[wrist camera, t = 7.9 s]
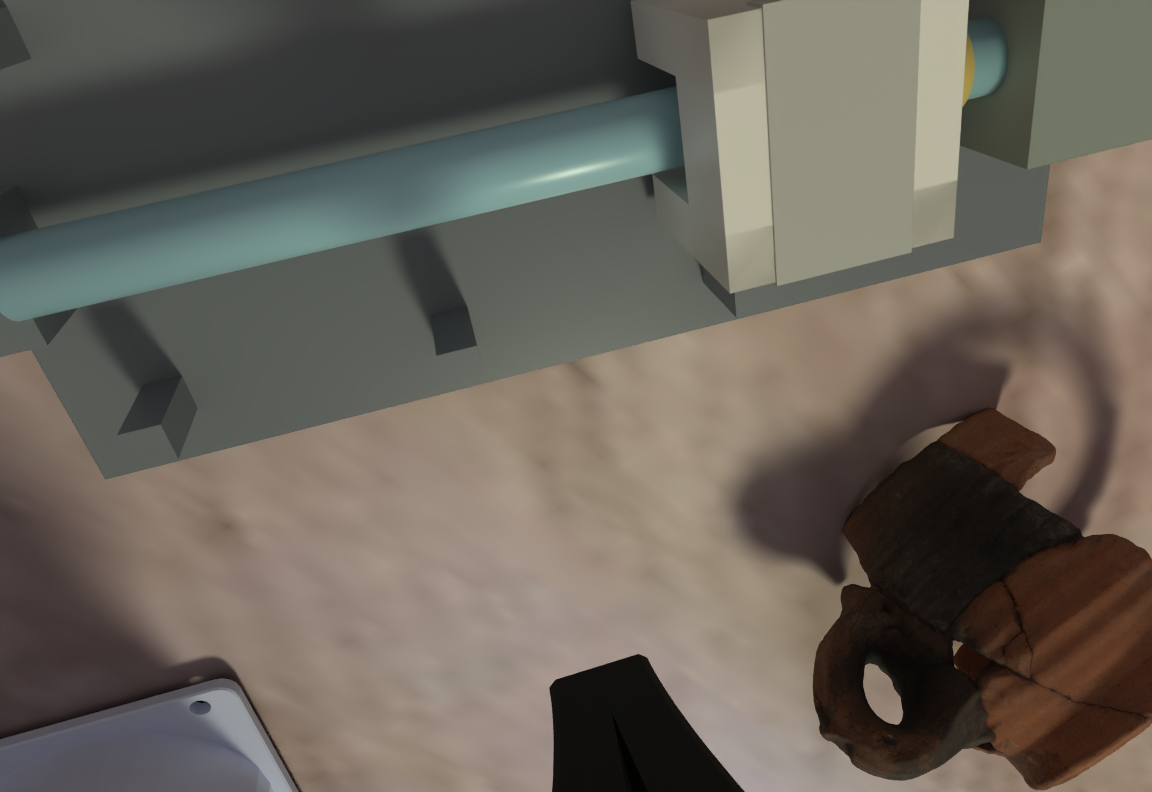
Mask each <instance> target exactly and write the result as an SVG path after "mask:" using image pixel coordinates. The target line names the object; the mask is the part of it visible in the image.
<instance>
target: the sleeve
mask: <svg viewBox="0 0 1152 792" xmlns="http://www.w3.org/2000/svg"><path fill="white" fill-rule="evenodd" d="M968 8H969V0H631V9H632V17H633V25H634V33H635V41H636V49H637V57H638V59H640V60H642V61H644V62H646V63H648V64H650V65H653V66H655V67H657V68H659V69H661V70H663V71H665V72H668V73H670V74H672V75H674V76H676V86H677V95H678V105H679V114H680V124H681V134H682V143H683V153H684V163H685V166H683V167H678V168H674V169H670V170H666V171H661V172H657V173H653V174H652V178H653V186H654V194H655V202H656V210H657V218H658V222H659V223H660V224H661V225H662V226H663V227H664V228H665V229H666V230H667V231H668V232H669V233H670V234H671V235H672V236H673V237H674V238H675V239H676V240H677V241H678V242H679V243H680V244H681V245H682V246H683V247H684V248H685V249H686V250H687V251H688V252H689V253H690V254H691V255H692V256H693V257H694V258H695V259H696V260H697V261H698V262H699V263H700V264H701V265H702V266H703V267H704V268H705V269H706V270H707V271H708V272H709V273H710V274H711V275H712V276H713V277H714V278H715V279H716V280H717V281H718V282H719V283H720V284H721V285H722V286H723V287H724V288H725V289H726V290H727V291H728V292H729V293H730V294H731V293H735V292H739V291H743V290H747V289H751V288H755V287H759V286H763V285H767V284H771V283H774V284H775V285H777V286H780V285H784V284H788V283H792V282H796V281H800V280H804V279H808V278H812V277H816V276H820V275H824V274H828V273H831V272H835V271H839V270H843V269H847V268H851V267H855V266H859V265H863V264H867V263H871V262H875V261H879V260H883V259H887V258H891V257H895V256H899V255H903V254H907V253H911V251H912V248H915V247H919V246H923V245H927V244H931V243H935V242H939V241H943V240H947V239H951V238H954V225H955V209H956V194H957V178H958V163H959V147H960V132H961V116H962V101H963V86H964V70H965V55H966V39H967V24H968Z"/></svg>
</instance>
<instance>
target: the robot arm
mask: <svg viewBox="0 0 1152 792" xmlns="http://www.w3.org/2000/svg"><path fill="white" fill-rule="evenodd" d="M549 689H550V696H551V702H552V713H553V730H554V762H553V787H552V792H744V790H743V789H742V788H741V787H740V786H739V785H738V784H737V782H736V781H735V780H734V779H733V778H732V776H731V775H730V774H729V773H728V772H727V770H726V769H725V768H724V767H723V766H722V764H721V763H720V762H719V761H718V760H717V758H716V757H715V756H714V755H713V754H712V752H711V751H710V750H709V749H708V747H707V746H706V745H705V744H704V742H703V741H702V740H701V739H700V737H699V736H698V735H697V733H696V732H695V731H694V729H693V728H692V727H691V725H690V724H689V723H688V721H687V720H686V719H685V717H684V716H683V714H682V713H681V712H680V710H679V709H678V708H677V706H676V705H675V703H674V702H673V700H672V699H671V697H670V696H669V694H668V693H667V691H666V690H665V688H664V687H663V685H662V683H661V682H660V680H659V678H658V677H657V675H656V673H655V672H654V670H653V668H652V666H651V664H650V662H649V660H648V658H647V657H644V656H642V655H640V654H637V655H634V656H631V657H627V658H624V659H621V660H618V661H615V662H611V663H608V664H605V665H602V666H598V667H595V668H592V669H589V670H586V671H582V672H579V673H576V674H573V675H569V676H566V677H563V678H560V679H557V680H555V681H554V682H553V684H552V685H551V686H550V688H549ZM196 701H206V702H207V703H199V702H196ZM0 792H298V790H297V788H296V786H295V784H294V783H293V781H292V779H291V777H290V775H289V774H288V772H287V770H286V768H285V766H284V765H283V763H282V761H281V759H280V757H279V756H278V754H277V752H276V750H275V748H274V747H273V745H272V743H271V741H270V739H269V738H268V736H267V734H266V732H265V730H264V729H263V727H262V725H261V723H260V721H259V720H258V718H257V716H256V714H255V712H254V711H253V709H252V707H251V705H250V703H249V702H248V700H247V698H246V696H245V694H244V693H243V691H242V689H241V687H240V686H239V685H238V684H237V683H236V682H234V681H232V680H230V679H223V678H221V679H214V680H211V681H207V682H203V683H200V684H196V685H193V686H189V687H186V688H182V689H178V690H175V691H171V692H168V693H164V694H160V695H157V696H153V697H150V698H146V699H143V700H139V701H135V702H132V703H128V704H125V705H121V706H118V707H114V708H110V709H107V710H103V711H100V712H96V713H93V714H89V715H85V716H82V717H78V718H75V719H71V720H67V721H64V722H60V723H57V724H53V725H50V726H46V727H42V728H39V729H35V730H32V731H28V732H25V733H21V734H17V735H14V736H10V737H7V738H3V739H0Z"/></svg>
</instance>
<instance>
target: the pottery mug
mask: <svg viewBox="0 0 1152 792" xmlns="http://www.w3.org/2000/svg"><path fill="white" fill-rule="evenodd" d="M1055 455H1056V449H1055V447H1054V446H1053V445H1052V444H1051V443H1050V442H1049V441H1048V440H1047V439H1045V438H1044V437H1042V436H1041V435H1039V434H1038V433H1035V432H1033V431H1030V430H1029V429H1027V428H1025V427H1023V426H1022V425H1020V424H1019V423H1017V422H1015V421H1014V420H1011V419H1009V418H1007V417H1006V416H1004V415H1003V414H1001V413H1000V412H998V411H997V410H995V409H986V410H984V411H982V412H980V413H976V414H974V415H972V416H970V417H969V418H968V419H966V420H965V421H963V422H961V423H958V424H956V425H955V426H954V427H953V428H952V429H951V430H950V431H949V432H947V433H946V434H944V435H942V436H941V437H940V438H939V439H938V440H937V441H935V442H933V443H931V444H929V445H928V446H927V447H926V448H924V449H923V450H922V451H921V452H920V453H918V454H917V455H916V456H915V457H914V458H912V459H911V460H909V461H906V462H903V463H902V464H900V465H899V466H898V468H897V469H896V470H895V471H894V473H892V474H891V475H890V476H889V477H887V478H886V479H884V480H883V481H882V482H881V483H879V484H878V486H877V487H876V489H874V490H873V491H872V492H871V493H870V494H869V495H868V496H867V497H866V498H865V499H864V501H863V502H862V504H861V505H860V506H859V507H858V508H857V509H856V510H855V511H854V513H853V514H852V515H851V517H850V518H849V520H848V521H847V522H846V524H845V525H844V527H843V532H844V535H845V536H846V538H847V540H848V541H849V542H850V544H851V546H852V547H853V549H854V550H855V551H856V553H857V555H858V557H859V561H860V564H861V566H862V568H863V569H864V571H865V572H866V573H867V576H868V579H869V582H870V584H871V587H870V588H868V587H862V586H859V585H856V584H850V585H847V586H844V587H843V589H842V592H841V604H842V612H841V615H840V617H839V618H838V620H837V621H836V622H835V623H834V625H833V626H832V627H831V628H830V630H829V631H828V632H827V634H826V635H825V636H824V638H823V640H822V641H821V642H820V644H819V646H818V649H817V652H816V658H815V663H814V674H813V696H814V704H815V709H816V712H817V714H818V717H819V721H820V726H819V730H820V734H821V735H822V737H823V738H825V739H826V740H828V741H831V742H833V743H835V744H836V745H837V746H838V747H839V748H840V749H841V750H842V751H843V752H844V753H845V754H847V755H848V756H849V757H850V759H851V762H852V764H853V765H854V766H856V767H857V768H859V769H860V770H862V771H864V772H867V773H869V774H871V775H873V776H877V777H882V778H885V779H890V780H900V781H901V780H908V779H913V778H916V777H919V776H921V775H923V774H925V773H927V772H929V771H931V770H933V769H935V768H938V767H939V766H941V765H943V764H944V763H946V762H947V761H948V760H949V759H951V758H952V757H953V756H954V755H956V754H957V753H958V752H959V751H961V750H962V749H968V748H973V749H976V750H980V751H983V752H985V753H988V754H996V755H999V756H1003V757H1005V758H1007V759H1008V760H1009V762H1010V763H1011V764H1012V765H1013V766H1014V767H1015V768H1016V769H1017V770H1018V771H1019V772H1020V773H1021V775H1022V776H1023V777H1024V780H1025V782H1026V783H1027V784H1028V785H1029V786H1030V787H1031V788H1033V789H1035V790H1047V789H1049V788H1051V787H1053V786H1057V785H1060V784H1062V783H1065V782H1067V781H1069V780H1071V779H1073V778H1075V777H1077V776H1078V775H1079V774H1081V773H1082V772H1084V771H1085V770H1087V769H1089V768H1090V767H1092V766H1094V765H1095V764H1097V763H1098V762H1100V761H1101V760H1103V759H1104V758H1105V757H1107V756H1108V755H1110V754H1112V753H1113V752H1115V751H1116V750H1118V749H1119V748H1120V747H1122V746H1123V745H1125V744H1126V743H1127V742H1128V741H1130V740H1131V739H1133V738H1134V737H1136V736H1137V735H1139V734H1140V733H1141V732H1143V731H1144V730H1145V729H1146V728H1148V727H1149V726H1150V725H1151V723H1152V559H1151V557H1150V556H1149V554H1148V553H1147V551H1146V550H1145V549H1143V548H1141V547H1138V546H1136V545H1135V544H1134V543H1132V542H1131V541H1129V540H1127V539H1126V538H1123V537H1119V536H1117V535H1114V534H1103V535H1091V536H1088V537H1083V536H1082V533H1081V531H1080V529H1078V528H1077V527H1075V526H1074V525H1072V524H1071V523H1069V522H1068V521H1066V520H1064V519H1063V518H1061V517H1059V516H1058V515H1056V514H1054V513H1052V512H1050V511H1048V510H1047V509H1046V508H1044V507H1043V506H1041V505H1040V504H1039V503H1037V502H1035V501H1033V500H1031V499H1029V498H1026V497H1025V496H1023V495H1022V494H1021V493H1020V492H1019V491H1020V490H1021V489H1022V488H1023V486H1024V485H1025V483H1026V481H1027V480H1029V479H1031V478H1032V477H1033V476H1034V475H1035V474H1036V473H1038V472H1039V471H1040V470H1041V469H1042V468H1044V467H1045V466H1047V465H1049V464H1051V463H1052V462H1053V461H1054V459H1055ZM954 639H955V640H957V641H958V642H962V643H964V644H963V645H962V646H961V647H960V648H959V649H958V651H957V652H956V654H955V656H954V655H953V648H952V646H953V642H952V640H954ZM868 663H871V664H875V665H878V667H879V668H880V670H881V671H883V672H884V673H885V674H887V675H888V676H889V677H890V678H891V680H892V682H893V686H894V689H895V690H896V692H897V693H898V694H899V695H900V697H901V703H902V709H903V718H902V721H901V722H900V724H899V725H894V724H890V723H887V722H885V721H883V720H882V719H881V718H879V717H878V716H877V715H876V714H875V713H874V711H873V710H872V709H871V707H870V706H869V704H868V702H867V699H866V696H865V692H864V688H863V678H864V668H865V665H867V664H868ZM954 664H955V666H956V667H957V668H958V669H957V668H955V666H954Z"/></svg>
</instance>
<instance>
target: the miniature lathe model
mask: <svg viewBox="0 0 1152 792" xmlns="http://www.w3.org/2000/svg"><path fill="white" fill-rule="evenodd" d="M1150 139H1152V0H969V8H968V24H967V39H966V55H965V70H964V86H963V101H962V116H961V132H960V147H959V163H958V178H957V194H956V209H955V225H954V238H951V239H947V240H943V241H939V242H935V243H931V244H927V245H923V246H919V247H915V248H912V251H911V253H907V254H903V255H899V256H895V257H891V258H887V259H883V260H879V261H875V262H871V263H867V264H863V265H859V266H855V267H851V268H847V269H843V270H839V271H835V272H831V273H828V274H824V275H820V276H816V277H812V278H808V279H804V280H800V281H796V282H792V283H788V284H784V285H780V286H777V285H775V284H774V283H771V284H767V285H763V286H759V287H755V288H751V289H747V290H743V291H739V292H735V293H731V294H730V293H729V292H728V291H727V290H726V289H725V288H724V287H723V286H722V285H721V284H720V283H719V282H718V281H717V280H716V279H715V278H714V277H713V276H712V275H711V274H710V273H709V272H708V271H707V270H706V269H705V268H704V267H703V266H702V265H701V264H700V263H699V262H698V261H697V260H696V259H695V258H694V257H693V256H692V255H691V254H690V253H689V252H688V251H687V250H686V249H685V248H684V247H683V246H682V245H681V244H680V243H679V242H678V241H677V240H676V239H675V238H674V237H673V236H672V235H671V234H670V233H669V232H668V231H667V230H666V229H665V228H664V227H663V226H662V225H661V224H660V223H659V222H658V218H657V210H656V202H655V194H654V186H653V178H652V174H653V173H657V172H661V171H666V170H670V169H674V168H678V167H683V166H685V163H684V153H683V143H682V134H681V124H680V114H679V105H678V95H677V86H676V76H674V75H672V74H670V73H668V72H665V71H663V70H661V69H659V68H657V67H655V66H653V65H650V64H648V63H646V62H644V61H642V60H640V59H638V57H637V49H636V41H635V33H634V25H633V17H632V9H631V0H0V357H2V356H6V355H10V354H14V353H19V352H23V351H27V350H32V352H33V354H34V355H35V357H36V359H37V361H38V362H39V364H40V366H41V368H42V369H43V371H44V373H45V375H46V377H47V378H48V380H49V382H50V384H51V385H52V387H53V389H54V391H55V392H56V394H57V396H58V398H59V399H60V401H61V403H62V405H63V406H64V408H65V410H66V412H67V413H68V415H69V417H70V419H71V420H72V422H73V424H74V426H75V427H76V429H77V431H78V433H79V434H80V436H81V438H82V440H83V441H84V443H85V445H86V447H87V448H88V450H89V452H90V454H91V455H92V457H93V459H94V461H95V462H96V464H97V466H98V468H99V469H100V471H101V473H102V475H103V476H104V478H105V479H109V478H113V477H117V476H121V475H125V474H129V473H132V472H136V471H140V470H144V469H148V468H152V467H156V466H160V465H164V464H168V463H172V462H176V461H180V460H184V459H188V458H192V457H196V456H200V455H203V454H207V453H211V452H215V451H219V450H223V449H227V448H231V447H235V446H239V445H243V444H247V443H251V442H255V441H259V440H263V439H267V438H270V437H274V436H278V435H282V434H286V433H290V432H294V431H298V430H302V429H306V428H310V427H314V426H318V425H322V424H326V423H330V422H334V421H337V420H341V419H345V418H349V417H353V416H357V415H361V414H365V413H369V412H373V411H377V410H381V409H385V408H389V407H393V406H397V405H401V404H405V403H408V402H412V401H416V400H420V399H424V398H428V397H432V396H436V395H440V394H444V393H448V392H452V391H456V390H460V389H464V388H468V387H472V386H475V385H479V384H483V383H487V382H491V381H495V380H499V379H503V378H507V377H511V376H515V375H519V374H523V373H527V372H531V371H535V370H539V369H543V368H546V367H550V366H554V365H558V364H562V363H566V362H570V361H574V360H578V359H582V358H586V357H590V356H594V355H598V354H602V353H606V352H610V351H613V350H617V349H621V348H625V347H629V346H633V345H637V344H641V343H645V342H649V341H653V340H657V339H661V338H665V337H669V336H673V335H677V334H681V333H684V332H688V331H692V330H696V329H700V328H704V327H708V326H712V325H716V324H720V323H724V322H728V321H732V320H736V319H740V318H744V317H748V316H751V315H755V314H759V313H763V312H767V311H771V310H775V309H779V308H783V307H787V306H791V305H795V304H799V303H803V302H807V301H811V300H815V299H819V298H822V297H826V296H830V295H834V294H838V293H842V292H846V291H850V290H854V289H858V288H862V287H866V286H870V285H874V284H878V283H882V282H886V281H889V280H893V279H897V278H901V277H905V276H909V275H913V274H917V273H921V272H925V271H929V270H933V269H937V268H941V267H945V266H949V265H953V264H957V263H960V262H964V261H968V260H972V259H976V258H980V257H984V256H988V255H992V254H996V253H1000V252H1004V251H1008V250H1012V249H1016V248H1020V247H1024V246H1027V245H1031V244H1035V243H1039V242H1041V235H1042V227H1043V219H1044V210H1045V202H1046V194H1047V186H1048V177H1049V169H1050V164H1052V163H1056V162H1060V161H1064V160H1068V159H1073V158H1077V157H1081V156H1085V155H1089V154H1093V153H1097V152H1101V151H1105V150H1109V149H1113V148H1118V147H1122V146H1126V145H1130V144H1134V143H1138V142H1142V141H1146V140H1150Z"/></svg>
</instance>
